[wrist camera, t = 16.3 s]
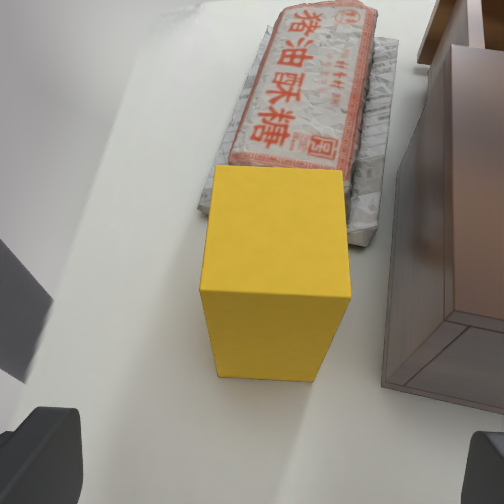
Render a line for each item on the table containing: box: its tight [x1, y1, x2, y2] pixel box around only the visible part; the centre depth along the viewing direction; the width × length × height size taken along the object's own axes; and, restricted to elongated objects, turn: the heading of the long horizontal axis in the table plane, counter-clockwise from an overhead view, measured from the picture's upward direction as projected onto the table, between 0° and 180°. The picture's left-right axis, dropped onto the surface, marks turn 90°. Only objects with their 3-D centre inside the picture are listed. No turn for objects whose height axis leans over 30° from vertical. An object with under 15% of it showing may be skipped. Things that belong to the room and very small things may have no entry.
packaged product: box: [197, 0, 399, 247], centre depth 27 cm, size 18×5×10 cm
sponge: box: [199, 165, 352, 382], centre depth 18 cm, size 4×5×9 cm
